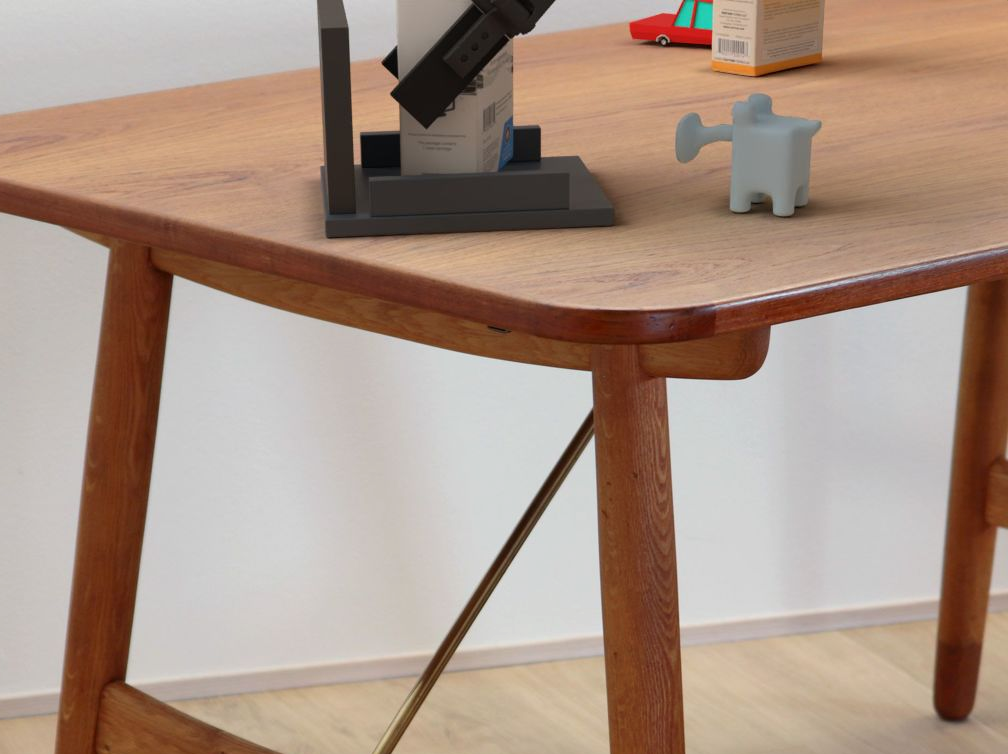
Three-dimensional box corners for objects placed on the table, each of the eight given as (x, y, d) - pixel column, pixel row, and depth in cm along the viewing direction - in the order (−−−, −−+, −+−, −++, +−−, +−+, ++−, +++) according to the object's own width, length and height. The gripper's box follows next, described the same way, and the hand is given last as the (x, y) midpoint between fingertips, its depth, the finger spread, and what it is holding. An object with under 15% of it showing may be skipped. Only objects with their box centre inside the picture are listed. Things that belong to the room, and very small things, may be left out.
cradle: (614, 225, 107) (618, 20, 102) (325, 237, 106) (316, 31, 101) (578, 171, 119) (580, -14, 115) (320, 181, 119) (312, -4, 114)
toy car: (663, 33, 168) (664, -15, 166) (791, 42, 162) (794, -8, 160) (628, 44, 163) (628, -5, 162) (758, 53, 157) (761, 2, 155)
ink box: (438, 156, 116) (432, -48, 111) (518, 159, 115) (516, -48, 110) (397, 188, 109) (389, -29, 104) (481, 191, 108) (478, -29, 103)
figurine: (693, 193, 113) (697, 87, 111) (826, 204, 110) (833, 95, 107) (668, 208, 110) (672, 99, 107) (805, 220, 106) (811, 108, 104)
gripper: (782, -151, 95) (466, 182, 101) (695, -177, 115) (436, 103, 121) (679, -266, 93) (362, 83, 99) (608, -271, 112) (348, 19, 118)
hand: (402, 94), depth 110 cm, fingers closed on ink box, 9 cm apart
